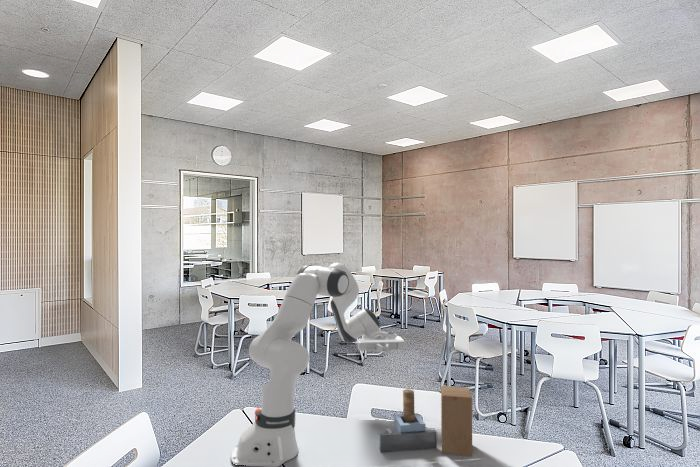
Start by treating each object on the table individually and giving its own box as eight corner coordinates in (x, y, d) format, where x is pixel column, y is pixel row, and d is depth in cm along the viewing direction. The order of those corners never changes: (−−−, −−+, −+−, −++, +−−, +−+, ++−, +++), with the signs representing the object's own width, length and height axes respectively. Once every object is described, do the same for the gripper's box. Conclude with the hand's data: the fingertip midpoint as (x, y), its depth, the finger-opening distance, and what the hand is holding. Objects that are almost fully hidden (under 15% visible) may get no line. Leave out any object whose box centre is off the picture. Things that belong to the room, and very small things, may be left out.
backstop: (380, 453, 139) (380, 435, 139) (371, 432, 154) (371, 416, 154) (436, 449, 142) (436, 431, 142) (422, 429, 157) (422, 413, 157)
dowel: (405, 438, 144) (404, 393, 145) (402, 433, 148) (401, 389, 149) (416, 438, 145) (415, 393, 145) (413, 432, 149) (412, 389, 149)
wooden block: (472, 457, 136) (472, 397, 137) (441, 454, 138) (441, 395, 139) (469, 443, 146) (469, 387, 147) (441, 440, 148) (441, 385, 149)
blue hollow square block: (400, 448, 141) (400, 425, 142) (394, 436, 150) (394, 414, 151) (425, 446, 143) (425, 423, 143) (417, 435, 152) (417, 413, 152)
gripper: (354, 334, 177) (359, 341, 163) (400, 333, 180) (408, 340, 166) (354, 348, 177) (359, 357, 163) (399, 347, 180) (408, 356, 166)
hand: (384, 349), depth 165 cm, fingers closed
